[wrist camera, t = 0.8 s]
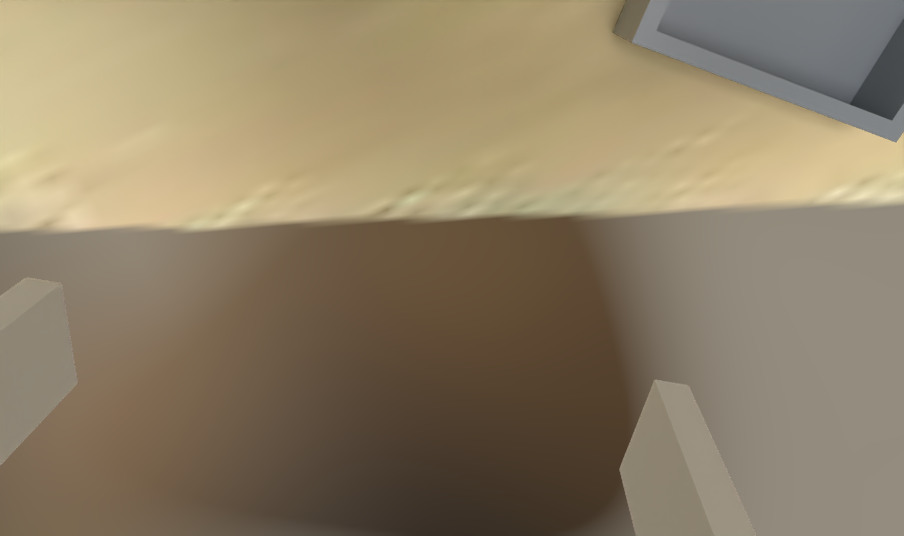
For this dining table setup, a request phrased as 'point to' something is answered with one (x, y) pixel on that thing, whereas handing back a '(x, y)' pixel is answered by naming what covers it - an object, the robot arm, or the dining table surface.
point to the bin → (789, 50)
